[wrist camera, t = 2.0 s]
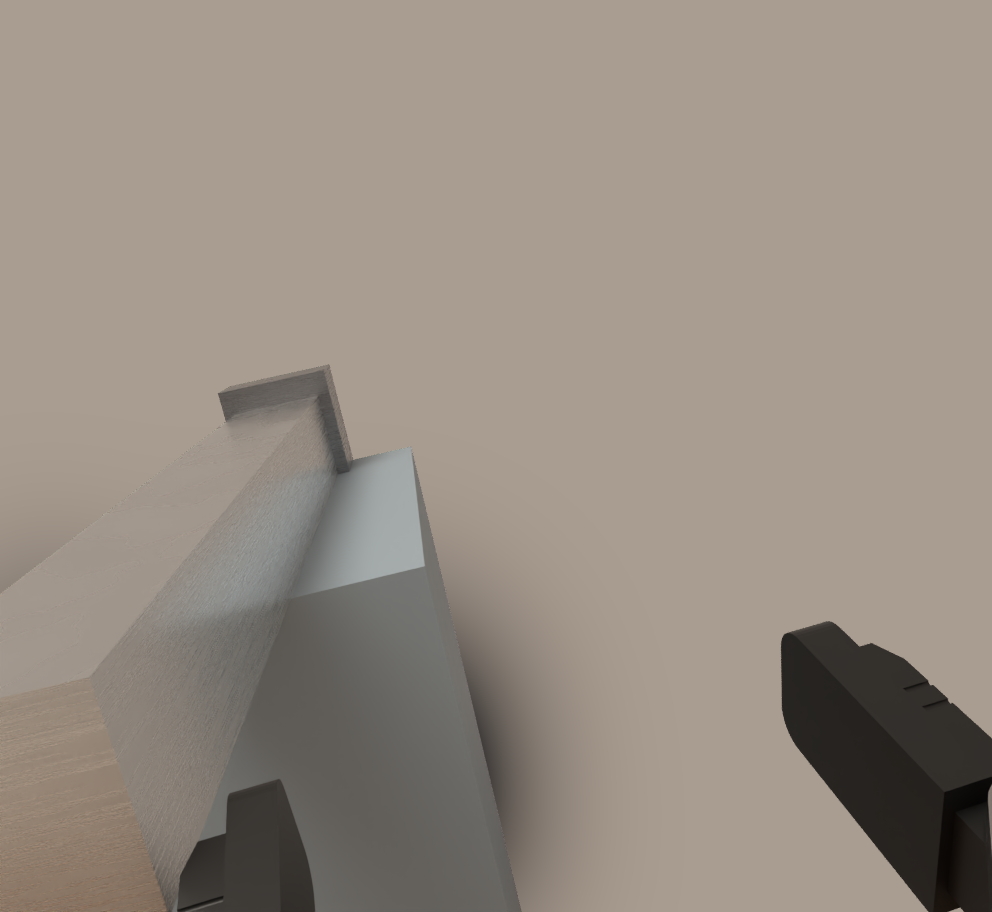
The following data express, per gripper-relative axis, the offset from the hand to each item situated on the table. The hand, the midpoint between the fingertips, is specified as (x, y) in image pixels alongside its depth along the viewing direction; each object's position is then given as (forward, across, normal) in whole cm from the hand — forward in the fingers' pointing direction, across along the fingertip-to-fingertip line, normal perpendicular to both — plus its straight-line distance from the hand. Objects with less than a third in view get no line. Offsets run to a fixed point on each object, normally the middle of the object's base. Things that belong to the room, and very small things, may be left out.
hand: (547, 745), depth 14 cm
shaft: (+14, +6, +3) cm, 15 cm away
